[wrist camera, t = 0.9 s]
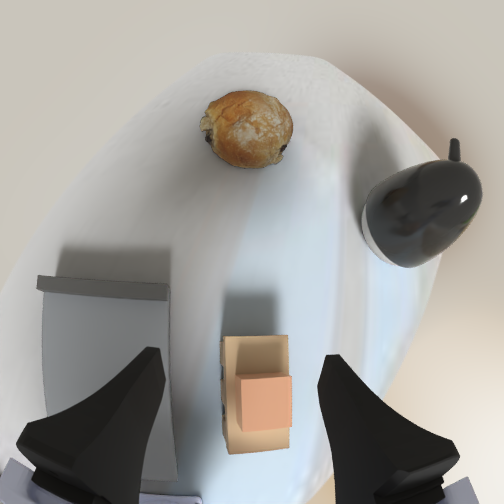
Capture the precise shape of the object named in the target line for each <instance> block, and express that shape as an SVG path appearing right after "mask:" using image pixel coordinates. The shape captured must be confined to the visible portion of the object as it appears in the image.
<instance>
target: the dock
mask: <svg viewBox="0 0 504 504" xmlns="http://www.w3.org/2000/svg"><path fill="white" fill-rule="evenodd" d="M36 289H38V290H41V291H43V292H44V298H43V314H42V367H43V382H44V393H45V402H46V410H47V417H49V416H52V415H54V414H57V413H59V412H61V411H64V410H66V409H68V408H70V407H72V406H73V405H75V404H77V403H79V402H81V401H83V400H84V399H86V398H87V397H89V396H90V395H92V394H93V393H95V392H96V391H98V390H99V389H100V388H102V387H103V386H104V385H105V384H107V383H108V382H109V381H110V380H111V379H113V378H114V377H115V376H116V375H117V374H118V373H119V372H120V371H122V370H123V369H124V368H125V367H126V366H127V365H128V364H129V363H130V362H131V361H132V360H133V359H134V358H135V357H136V356H137V355H138V354H139V353H140V352H141V351H142V350H143V349H144V348H145V347H147V346H149V347H157V348H160V352H161V357H162V362H163V367H164V372H165V376H166V383H165V388H164V393H163V398H162V401H161V404H160V407H159V410H158V413H157V415H156V418H155V421H154V424H153V427H152V430H151V433H150V436H149V439H148V443H147V447H146V452H145V457H144V463H143V469H142V476H141V479H143V480H154V481H169V482H177V479H178V470H177V462H176V453H175V443H174V432H173V419H172V404H171V385H170V347H169V318H170V289H169V287H168V285H167V284H158V283H138V282H120V281H105V280H90V279H77V278H64V277H53V276H41V275H38V279H37V288H36Z"/></svg>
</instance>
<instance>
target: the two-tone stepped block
mask: <svg viewBox="0 0 504 504" xmlns="http://www.w3.org/2000/svg"><path fill="white" fill-rule="evenodd" d="M220 364H221V365H223V368H224V379H221V400H222V402H223V404H224V406H225V415H222V431H223V436H224V439H225V441H226V448H227V451H228V453H229V454H243V453H254V452H263V451H271V450H278V449H285V448H289V427H287V428H279V429H271V430H262V431H252V432H242V431H241V429H240V427H239V425H238V424H237V421H236V389H235V375H239V374H260V373H275V372H282V373H284V374H287V375H289V355H288V335H270V336H223V342H220Z"/></svg>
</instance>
